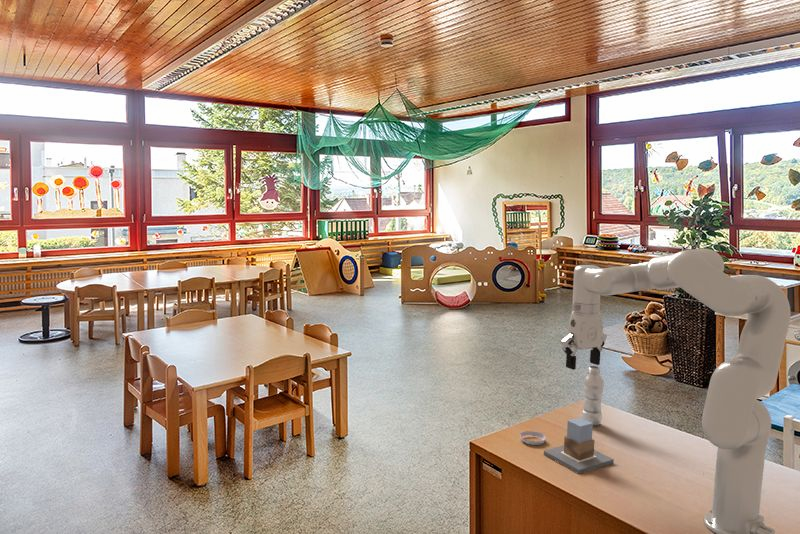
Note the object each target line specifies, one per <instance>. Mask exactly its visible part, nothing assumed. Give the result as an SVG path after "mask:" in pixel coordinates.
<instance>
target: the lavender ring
mask: <svg viewBox="0 0 800 534" xmlns="http://www.w3.org/2000/svg"><path fill="white" fill-rule="evenodd" d="M519 435H520V437H519V438H520V440H521V441H522V443H524V442H525V443H524V444H527V445H530V444H531V445H532V446H539V445H543V444H544V443H545V442H546V439H547V438H546V436H545V434H543V433H541V432H537V431H532V430H531V431H528V430H527V431H522V432H521V433H520V434H519ZM525 435H532V436H537V437H540V438H541V439H542V440H543V441H541V440H538V441H535V440H527V439H526V438H525V439H523V438H522V436H525ZM531 445H530V446H531Z"/></svg>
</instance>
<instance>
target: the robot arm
mask: <svg viewBox="0 0 800 534" xmlns="http://www.w3.org/2000/svg"><path fill="white" fill-rule="evenodd" d="M724 270H725V263H724V259H723V257H722V256H721V255H720V254H719V253H718V252H717V251H715V250H713V249H710V248H695V249H684V250H682V251H678V252H677V253H671V254H665V255H660V256H659V255H658V256H654V257H652V258H651V259H650V260H649V261H646V262H645V261H644V262H641V263H636V264H635V263H634V264H630V265H623V266H613V267H612V266H610V267H604V268H601V267H600V266H598V265H594V264H593V265H592V264H579V265H577V266H575V267H574V270H573V282H572V283H573V285H572V286H573V287H572V303H571V304H572V305H571V307H570V308H571V313H570V317H569V322H568V328H567V335H566V336H565V337H564V338H562V339H561V340H560V344H561V347H562V351H563V352H564V354H565V355H566V358H565V368H567V369H570V370H573V371H574V370H576V368H577V367H576V366H577V355H576V353H577V352H578V350H589V349H590V352H589V353H590V354H589V363H590V364H593V365H595V366H600V365H601V352H602V351H603V347H604V345H606V344H605V342H606V339H607V336H608V335H607V334H605V333H604V332H603V331H604V326H603V323H604V322H603V317H602V313H601V312H600V307H601V306H600V305H601V296H605V297H608V296H614V295H618V294H626V293H627V294H628V293H634V292H640V291H647V290H657V291H664V290H669V289H670V290H671V289H677V288H681V290H683V291H685V292H686V293H687V294H688V295H690V296H691V297H693V298H695V299H696V300H697V301H698V302H700V303H702V304H703V305H704V306H706V307H707V308H709V309H711V310H712V311H713V312H715V313H718V314H720V315H722V316H725V317H739V316H743V315H747V320H746V321H745V324H744V326H743V328H742V329H741V330H742V331H741V333H740V337H739V343H738V346H737V350H736V353H735V354H734V357H733V358H731V359H728V360H725V361H724V362H722V363H720V364H719V365H717V367H716V368H715V369H714V371H713V372H712V373H711V374H712V375H711V377H710V380H709V385H708V388H707V393H706V398H705V402H704V406H703V411H702V416H701V426H702V431H703V433H704V436H705V438H707V440H708V441H709V443H711V445H713V446H714V447H716V448H717V449H716V450H717V451H716V461H715V473H714V487H713V494H712V495H713V497H712V506H711V507H712V509H711V510H709V511H707V512H705V513H704V517H703V522H704V524H705V526H706V527H707V528H708V529H709V530H710V531H711V532H713V533H715V534H776V533H775V532H776V529H775V528H772V527H770V526H767V525H766V524H765V523H764V521H765V517H764V516H763V515H760V510H761V509H760V508H761V501H762V500H761V499H762V491H763V490H762V488H763V487H762V486H763V478H764V477H763V476H764V469H765V468H764V467H765V458H766V452H767V446H768V443H769V440H770V439H769V438H770V435H771V431H772V430H771V429H772V418H771V414H770V411H769V409H768V408H767V407H766V405H765V404H764V403H762V402H761V401H760V400H758V399H760V398H762V397H764V396H766V395H768V394H769V393H771V392H772V391H773V390H774V388H775V387H776V383H777V379H778V377H779V370H780V366H781V361H782V357H783V354H784V348H785V344H786V339H787V335H788V332H789V326H790V324H791V323H790V322H791V306H790V305H791V304H790V302H789V299H788V296H787V295H786V293H785V292H784V290H783V289H782V288H781V287H780V286H779V285H778V284H777V283H776V282H775V281H774V280H773V281H772V280H771V279H770V278H768V277H765V276H763V275H759V274H743V275H737V276H734V277H733V276H730V275H728V274H727V273H725V272H724Z"/></svg>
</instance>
